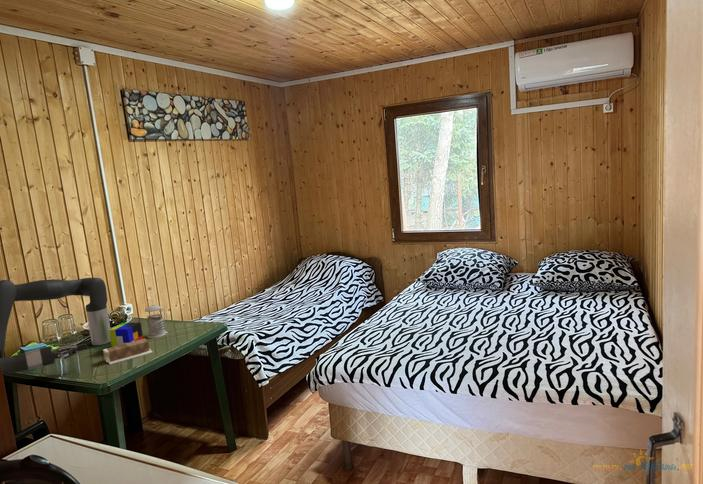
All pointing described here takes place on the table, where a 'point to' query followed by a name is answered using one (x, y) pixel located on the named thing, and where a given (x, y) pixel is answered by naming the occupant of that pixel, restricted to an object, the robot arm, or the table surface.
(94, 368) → the table surface
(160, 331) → the french press
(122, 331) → the puzzle toy
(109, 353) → the walnut block
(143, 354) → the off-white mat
